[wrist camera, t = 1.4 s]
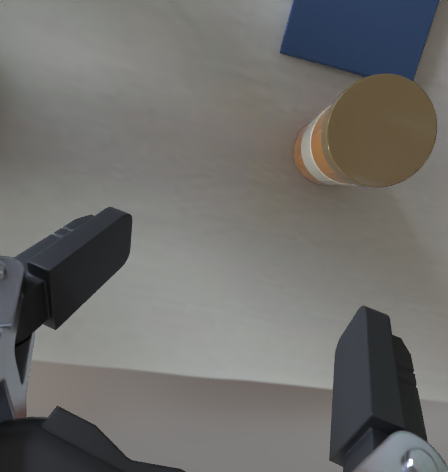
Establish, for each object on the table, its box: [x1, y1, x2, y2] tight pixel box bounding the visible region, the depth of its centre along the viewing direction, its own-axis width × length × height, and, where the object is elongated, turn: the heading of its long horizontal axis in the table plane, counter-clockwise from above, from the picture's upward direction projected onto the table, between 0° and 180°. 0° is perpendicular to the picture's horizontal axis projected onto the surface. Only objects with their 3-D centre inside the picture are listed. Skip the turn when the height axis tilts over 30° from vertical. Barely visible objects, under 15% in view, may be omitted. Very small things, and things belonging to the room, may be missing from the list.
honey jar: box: [294, 74, 437, 187], centre depth 23 cm, size 6×6×10 cm
